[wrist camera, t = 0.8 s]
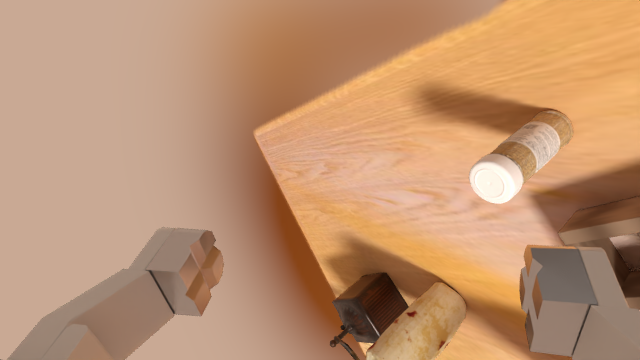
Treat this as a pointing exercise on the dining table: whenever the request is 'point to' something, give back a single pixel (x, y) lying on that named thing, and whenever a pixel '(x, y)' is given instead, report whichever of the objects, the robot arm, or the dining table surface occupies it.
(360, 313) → the coffee grinder
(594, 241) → the rail
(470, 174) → the sprinkles bottle
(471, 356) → the dining table surface
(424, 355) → the food model
